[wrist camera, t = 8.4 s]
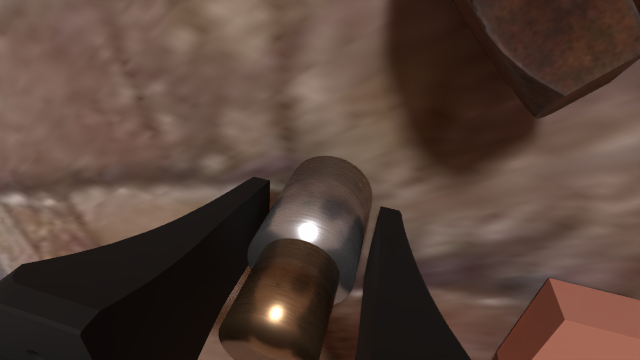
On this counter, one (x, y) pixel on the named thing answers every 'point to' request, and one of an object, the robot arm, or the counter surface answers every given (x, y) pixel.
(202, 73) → the counter surface
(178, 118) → the counter surface
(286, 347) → the two-tone metal capsule
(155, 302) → the robot arm
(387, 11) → the counter surface
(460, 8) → the bolt
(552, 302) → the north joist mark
